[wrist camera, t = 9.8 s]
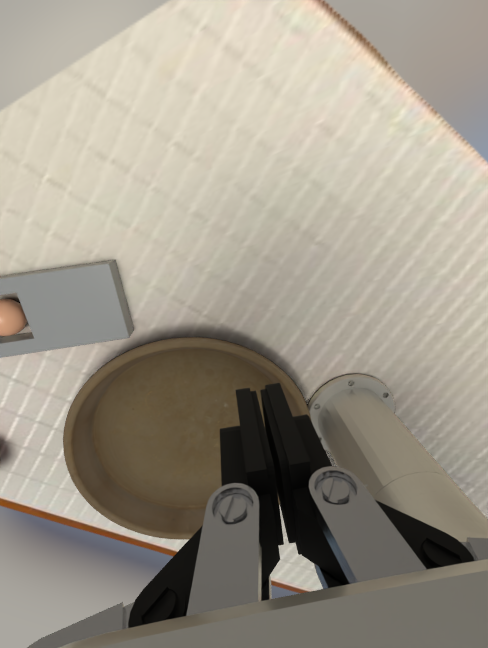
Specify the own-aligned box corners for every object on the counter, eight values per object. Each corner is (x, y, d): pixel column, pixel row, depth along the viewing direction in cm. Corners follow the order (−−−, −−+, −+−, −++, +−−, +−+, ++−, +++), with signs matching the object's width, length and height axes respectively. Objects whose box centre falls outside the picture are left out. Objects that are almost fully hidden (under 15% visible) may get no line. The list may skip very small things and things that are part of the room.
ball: (-2, 344, 33) (-16, 339, 35) (39, 329, 36) (24, 325, 38) (-18, 307, 31) (-32, 304, 34) (26, 295, 34) (10, 292, 37)
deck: (134, 329, 39) (129, 337, 36) (-3, 350, 38) (-17, 360, 36) (115, 259, 36) (108, 263, 33) (-34, 280, 35) (-52, 286, 33)
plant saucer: (349, 401, 45) (363, 421, 41) (223, 539, 53) (224, 569, 48) (154, 276, 37) (146, 285, 33) (35, 461, 44) (16, 488, 40)
